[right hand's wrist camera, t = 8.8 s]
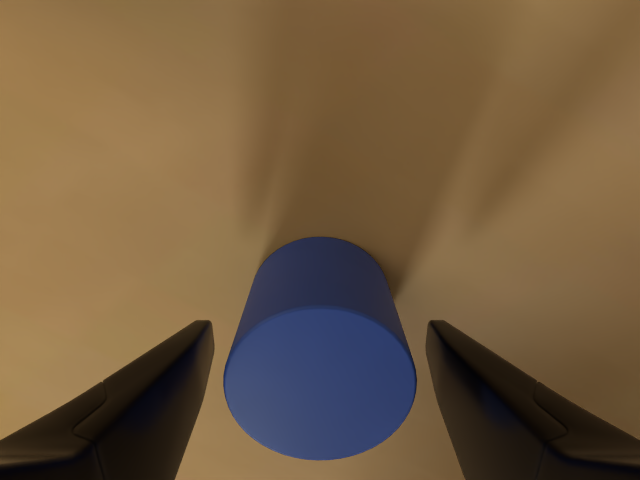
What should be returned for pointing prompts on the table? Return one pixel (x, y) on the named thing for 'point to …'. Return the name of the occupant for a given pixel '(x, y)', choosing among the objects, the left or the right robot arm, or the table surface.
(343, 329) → the can
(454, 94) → the table surface
